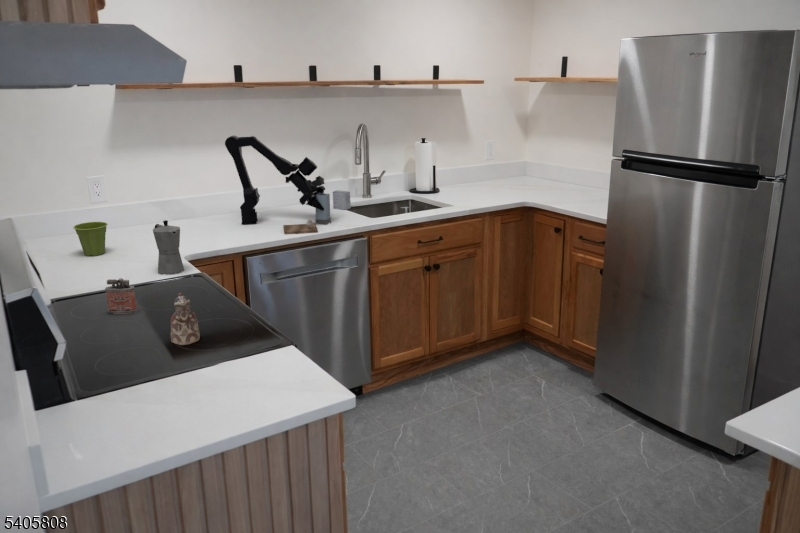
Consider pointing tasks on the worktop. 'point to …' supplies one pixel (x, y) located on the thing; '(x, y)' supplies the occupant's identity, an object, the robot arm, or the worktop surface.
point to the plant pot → (92, 237)
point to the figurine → (184, 322)
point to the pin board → (300, 228)
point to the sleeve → (324, 215)
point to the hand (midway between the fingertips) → (325, 208)
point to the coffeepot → (168, 248)
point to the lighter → (120, 297)
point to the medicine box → (341, 200)
